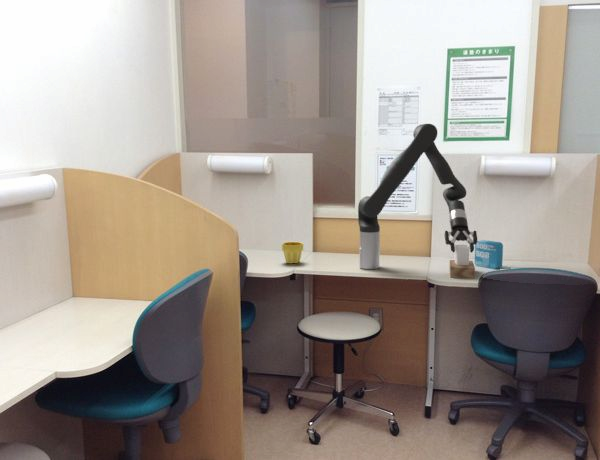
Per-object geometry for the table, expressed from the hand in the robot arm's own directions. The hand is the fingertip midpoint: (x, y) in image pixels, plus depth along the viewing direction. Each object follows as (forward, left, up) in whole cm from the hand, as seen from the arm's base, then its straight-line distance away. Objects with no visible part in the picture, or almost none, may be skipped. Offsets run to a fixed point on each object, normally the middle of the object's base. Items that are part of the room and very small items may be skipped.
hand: (462, 251), depth 257 cm
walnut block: (0, +2, -11) cm, 11 cm away
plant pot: (-77, +25, -11) cm, 82 cm away
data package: (+15, +17, -11) cm, 25 cm away
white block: (0, +2, -6) cm, 6 cm away
